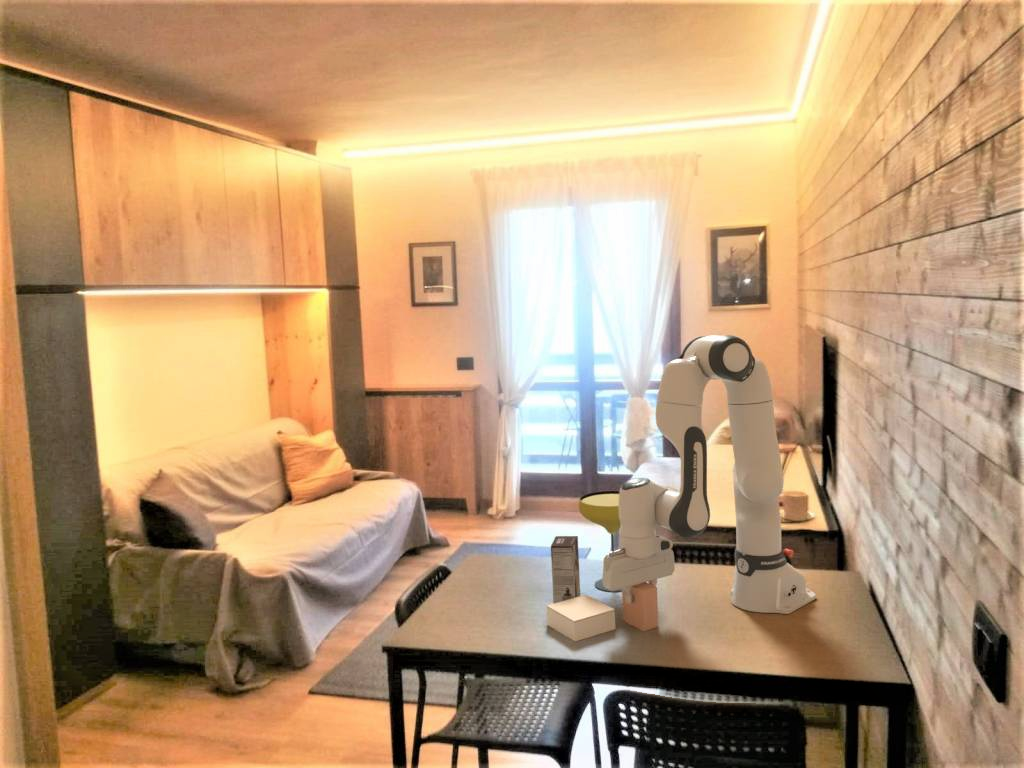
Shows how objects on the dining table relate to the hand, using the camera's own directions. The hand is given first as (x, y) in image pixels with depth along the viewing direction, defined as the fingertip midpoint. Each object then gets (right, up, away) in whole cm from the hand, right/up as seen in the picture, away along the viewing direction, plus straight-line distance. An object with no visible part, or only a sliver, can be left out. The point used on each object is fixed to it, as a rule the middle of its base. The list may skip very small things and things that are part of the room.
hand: (639, 599), depth 190 cm
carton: (0, -6, +1) cm, 6 cm away
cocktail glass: (-3, -4, +28) cm, 28 cm away
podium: (-14, -7, 0) cm, 16 cm away
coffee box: (-17, -5, +20) cm, 26 cm away
